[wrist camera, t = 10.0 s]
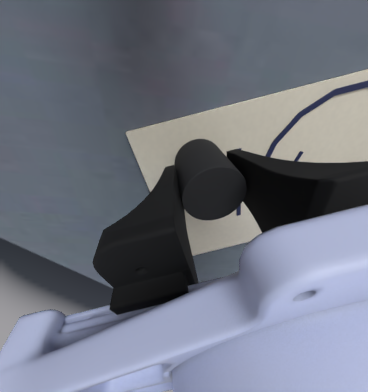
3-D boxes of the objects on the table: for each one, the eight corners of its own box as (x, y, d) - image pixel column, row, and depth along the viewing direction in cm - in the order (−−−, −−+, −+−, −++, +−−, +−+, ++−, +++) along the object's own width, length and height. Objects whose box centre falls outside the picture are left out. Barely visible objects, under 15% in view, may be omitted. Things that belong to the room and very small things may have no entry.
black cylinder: (222, 176, 13) (246, 212, 10) (180, 187, 13) (188, 226, 10) (219, 132, 11) (248, 158, 8) (168, 145, 11) (174, 177, 8)
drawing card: (356, 212, 19) (360, 215, 19) (177, 257, 20) (178, 260, 19) (459, 45, 10) (469, 44, 10) (126, 131, 11) (125, 133, 10)
